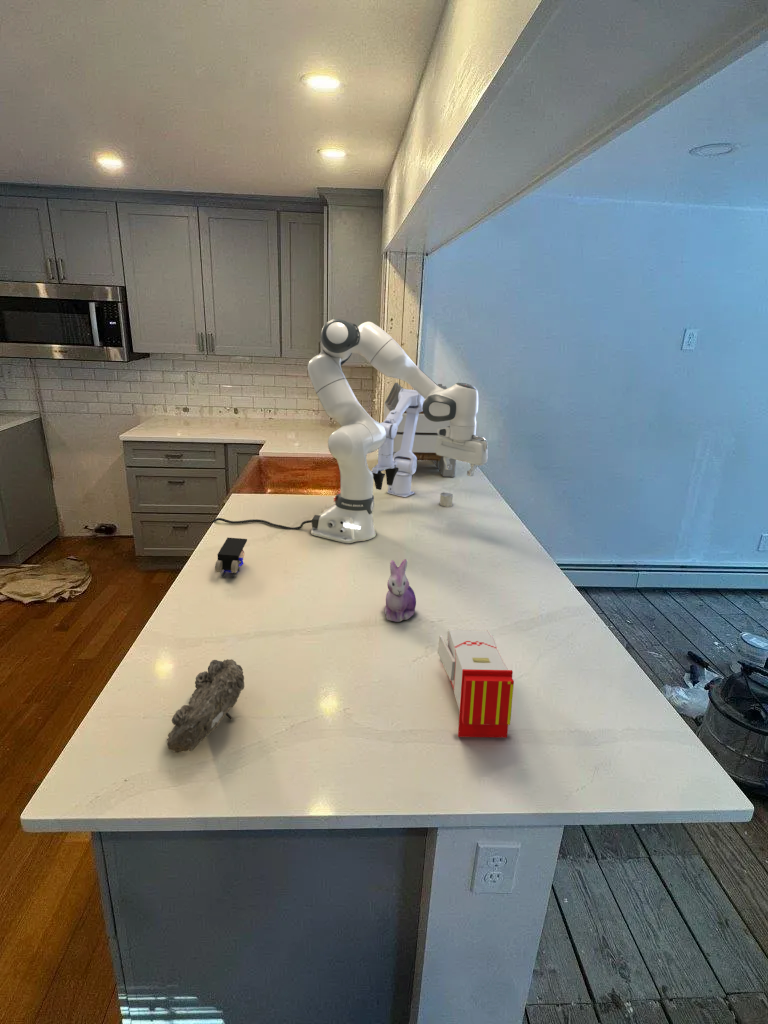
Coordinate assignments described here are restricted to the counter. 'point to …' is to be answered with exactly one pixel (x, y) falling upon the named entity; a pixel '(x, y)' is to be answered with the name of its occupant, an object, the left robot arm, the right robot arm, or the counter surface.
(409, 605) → the figurine
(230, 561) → the figurine character
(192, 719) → the fossil
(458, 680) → the toy
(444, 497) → the canister
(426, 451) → the transformer
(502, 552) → the counter surface
